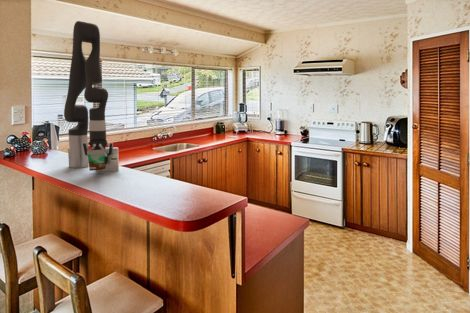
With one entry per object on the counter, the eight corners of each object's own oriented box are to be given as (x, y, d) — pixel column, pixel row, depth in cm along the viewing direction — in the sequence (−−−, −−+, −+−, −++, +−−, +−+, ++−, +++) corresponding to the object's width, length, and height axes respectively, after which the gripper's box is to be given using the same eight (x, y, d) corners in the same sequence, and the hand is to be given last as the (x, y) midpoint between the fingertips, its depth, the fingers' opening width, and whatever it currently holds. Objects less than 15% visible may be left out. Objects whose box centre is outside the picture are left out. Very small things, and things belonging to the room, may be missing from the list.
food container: (99, 171, 169) (98, 150, 167) (87, 171, 170) (86, 150, 168) (112, 167, 181) (112, 147, 179) (101, 166, 182) (100, 147, 180)
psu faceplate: (95, 171, 183) (95, 148, 181) (96, 170, 185) (95, 147, 183) (118, 171, 185) (117, 148, 183) (118, 170, 187) (118, 147, 185)
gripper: (114, 129, 177) (115, 162, 180) (83, 128, 175) (85, 162, 178) (112, 130, 170) (113, 165, 173) (79, 130, 168) (81, 165, 170)
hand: (98, 163), depth 175 cm, fingers closed on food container, 5 cm apart
